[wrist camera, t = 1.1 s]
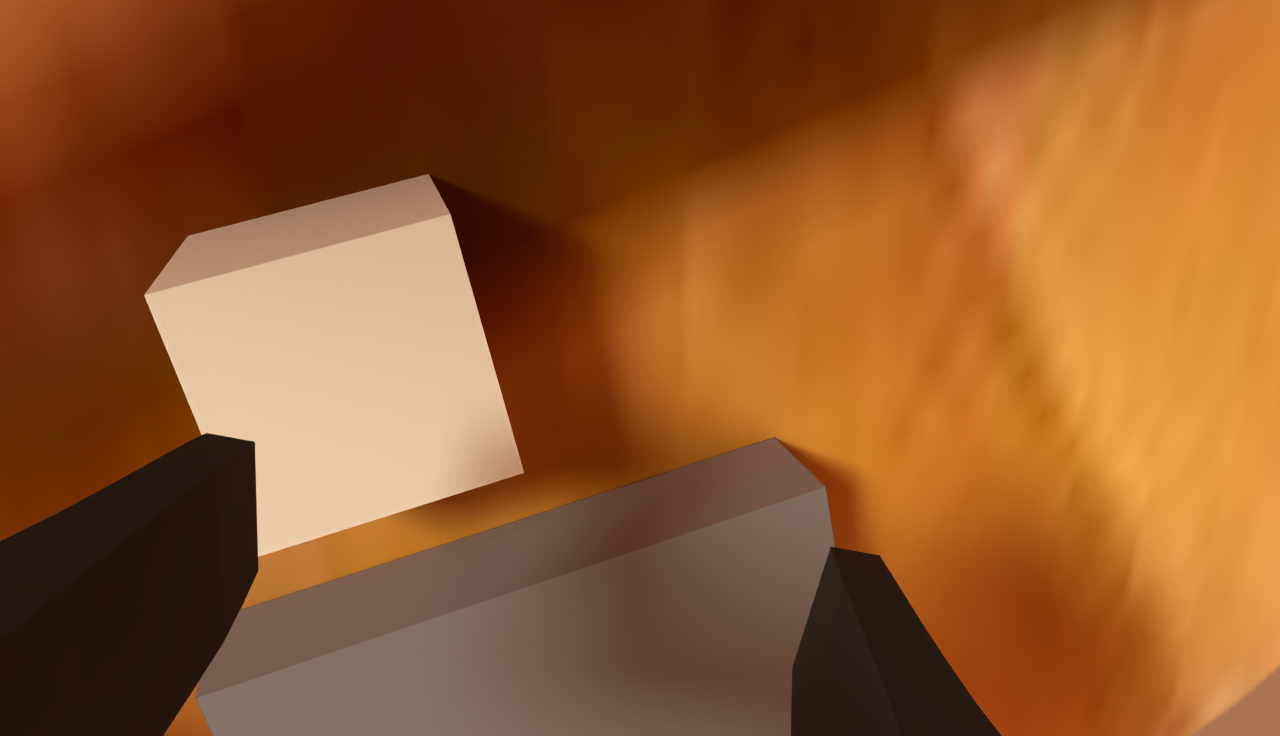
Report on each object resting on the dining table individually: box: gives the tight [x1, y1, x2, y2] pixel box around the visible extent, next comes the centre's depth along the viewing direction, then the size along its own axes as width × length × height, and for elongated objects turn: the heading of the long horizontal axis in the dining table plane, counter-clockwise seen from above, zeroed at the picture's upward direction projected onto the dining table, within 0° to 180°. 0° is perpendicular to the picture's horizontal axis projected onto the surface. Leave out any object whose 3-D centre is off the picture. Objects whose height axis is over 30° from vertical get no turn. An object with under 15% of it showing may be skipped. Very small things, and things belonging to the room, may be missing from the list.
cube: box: [144, 174, 524, 557], centre depth 20 cm, size 5×5×5 cm
